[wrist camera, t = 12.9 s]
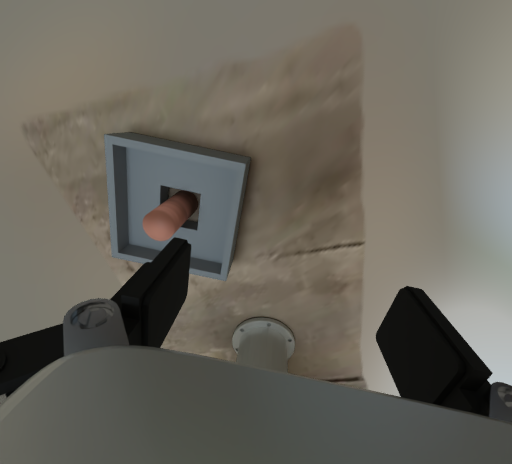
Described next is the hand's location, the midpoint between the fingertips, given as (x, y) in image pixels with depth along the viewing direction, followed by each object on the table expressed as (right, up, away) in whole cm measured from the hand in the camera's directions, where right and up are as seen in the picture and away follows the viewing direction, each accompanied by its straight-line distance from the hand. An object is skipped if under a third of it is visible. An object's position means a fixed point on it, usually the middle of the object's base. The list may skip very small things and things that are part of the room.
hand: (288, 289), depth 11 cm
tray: (-13, +7, +29) cm, 33 cm away
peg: (-13, +7, +29) cm, 33 cm away
